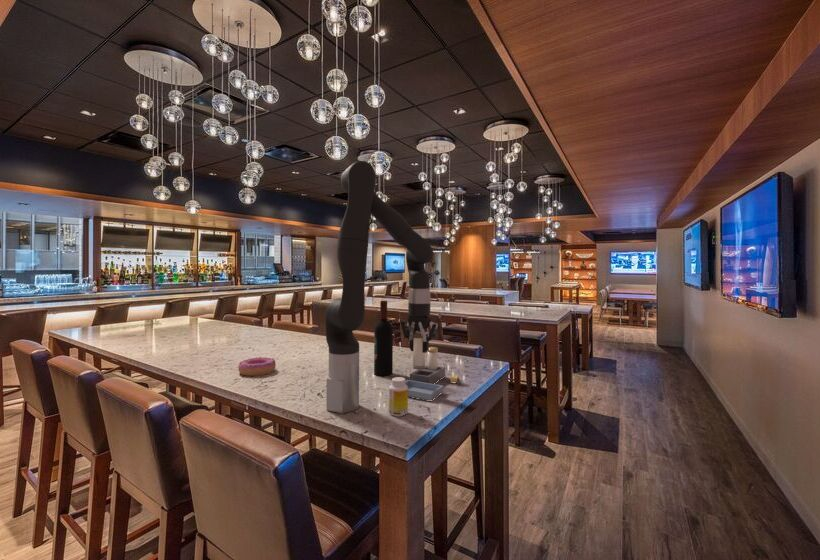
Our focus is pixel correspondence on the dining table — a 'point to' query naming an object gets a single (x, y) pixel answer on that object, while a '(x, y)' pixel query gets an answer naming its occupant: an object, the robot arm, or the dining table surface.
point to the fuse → (432, 359)
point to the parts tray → (423, 390)
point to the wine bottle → (383, 344)
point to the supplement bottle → (398, 397)
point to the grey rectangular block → (428, 375)
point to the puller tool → (453, 378)
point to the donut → (257, 366)
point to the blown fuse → (418, 351)
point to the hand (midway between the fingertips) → (419, 351)
